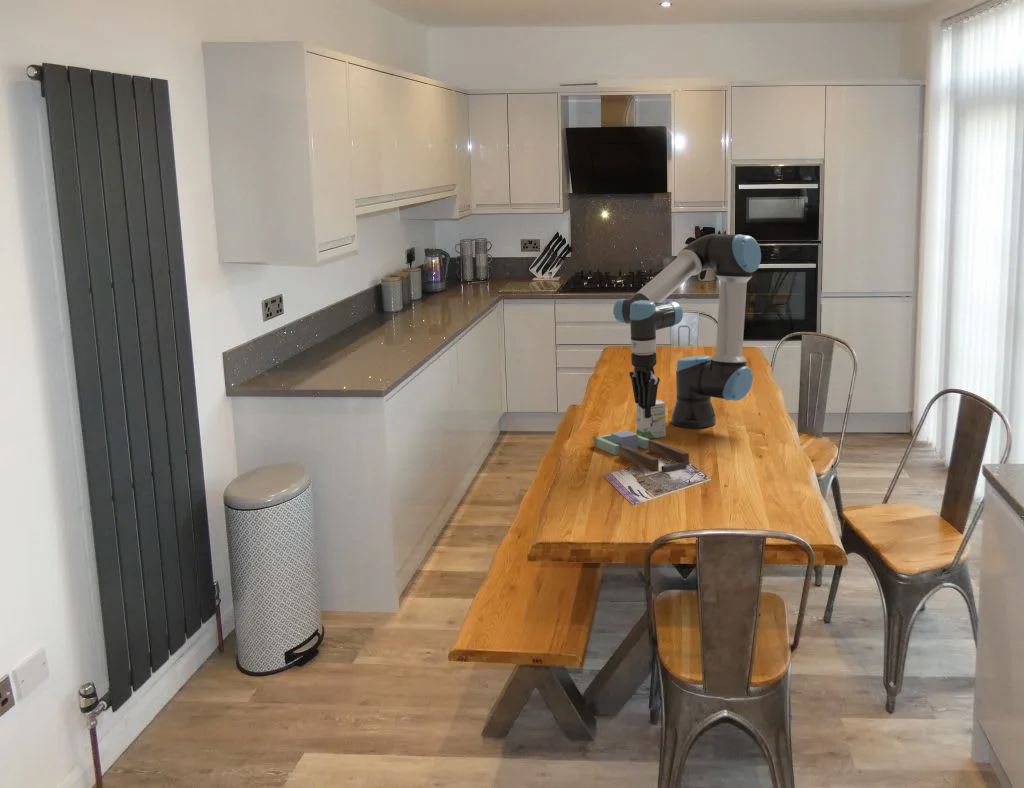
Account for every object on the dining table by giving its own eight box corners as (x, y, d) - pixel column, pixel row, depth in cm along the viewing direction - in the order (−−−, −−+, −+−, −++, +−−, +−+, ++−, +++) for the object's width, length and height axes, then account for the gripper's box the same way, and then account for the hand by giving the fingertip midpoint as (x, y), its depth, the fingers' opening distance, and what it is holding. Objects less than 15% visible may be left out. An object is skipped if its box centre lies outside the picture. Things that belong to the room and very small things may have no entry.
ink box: (659, 433, 337) (659, 399, 335) (666, 437, 333) (666, 402, 330) (636, 436, 335) (635, 401, 333) (642, 439, 330) (641, 404, 328)
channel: (653, 450, 318) (653, 439, 318) (688, 464, 303) (688, 453, 302) (619, 456, 313) (619, 446, 312) (653, 471, 297) (653, 460, 296)
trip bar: (683, 466, 301) (683, 461, 301) (686, 467, 300) (686, 462, 299) (661, 470, 297) (661, 466, 297) (664, 472, 296) (664, 467, 296)
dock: (627, 439, 331) (627, 430, 330) (650, 448, 320) (650, 439, 319) (594, 446, 325) (594, 437, 325) (615, 455, 314) (615, 446, 314)
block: (627, 445, 325) (626, 430, 324) (637, 449, 320) (637, 434, 319) (611, 448, 323) (611, 433, 322) (621, 452, 317) (621, 437, 316)
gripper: (621, 350, 308) (623, 424, 314) (645, 357, 297) (647, 434, 303) (641, 347, 311) (643, 420, 317) (666, 354, 300) (668, 430, 306)
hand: (645, 427), depth 310 cm, fingers closed
